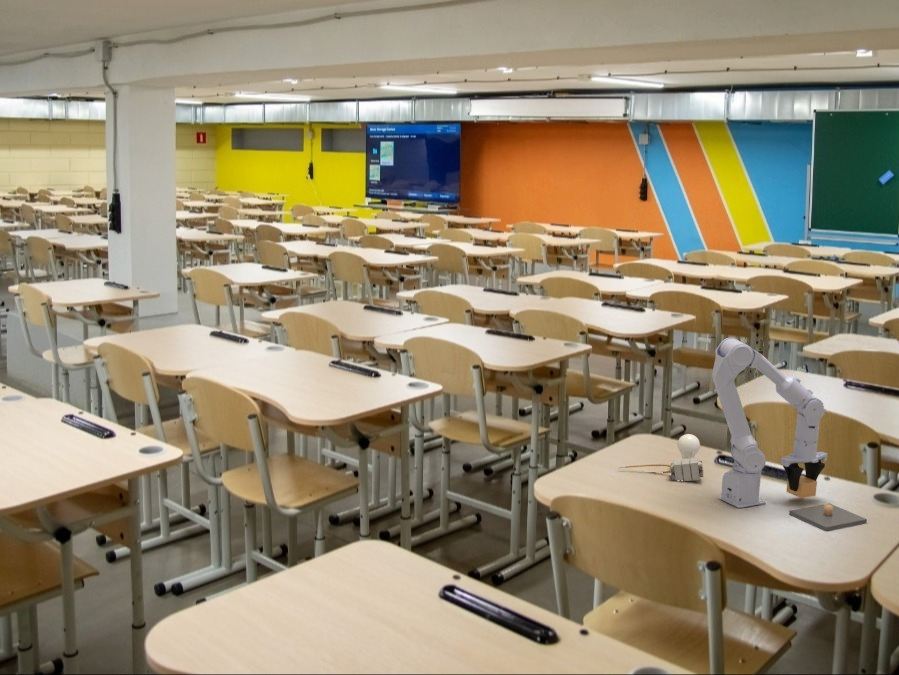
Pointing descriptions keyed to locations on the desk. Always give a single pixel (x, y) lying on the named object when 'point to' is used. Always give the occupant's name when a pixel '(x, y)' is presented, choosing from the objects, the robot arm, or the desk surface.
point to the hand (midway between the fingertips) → (801, 488)
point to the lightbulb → (688, 446)
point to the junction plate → (827, 517)
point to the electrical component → (683, 469)
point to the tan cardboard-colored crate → (804, 488)
